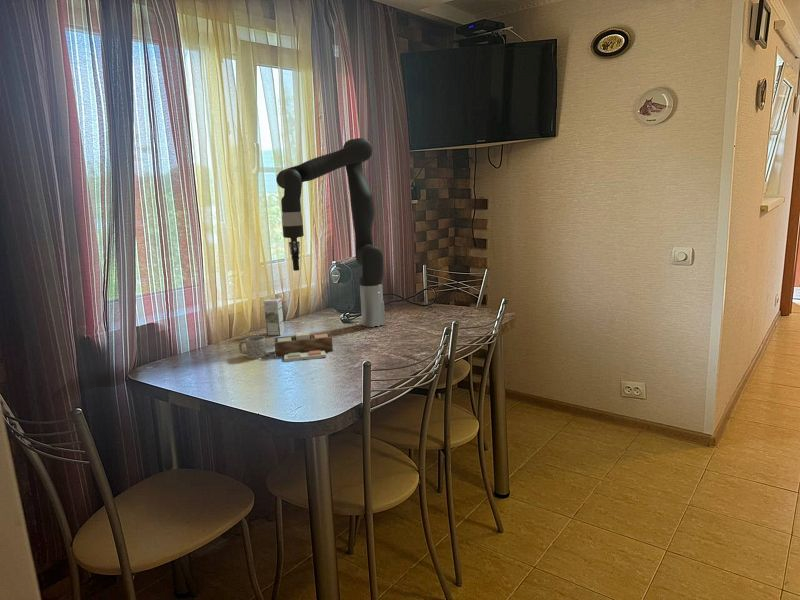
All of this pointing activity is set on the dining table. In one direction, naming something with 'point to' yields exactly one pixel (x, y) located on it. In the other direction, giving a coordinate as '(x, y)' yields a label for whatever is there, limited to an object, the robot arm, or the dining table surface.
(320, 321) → the dining table surface
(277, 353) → the brown wooden frame
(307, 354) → the card
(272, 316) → the syrup box
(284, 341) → the sage key
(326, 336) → the terracotta key
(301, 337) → the grey key
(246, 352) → the mug
